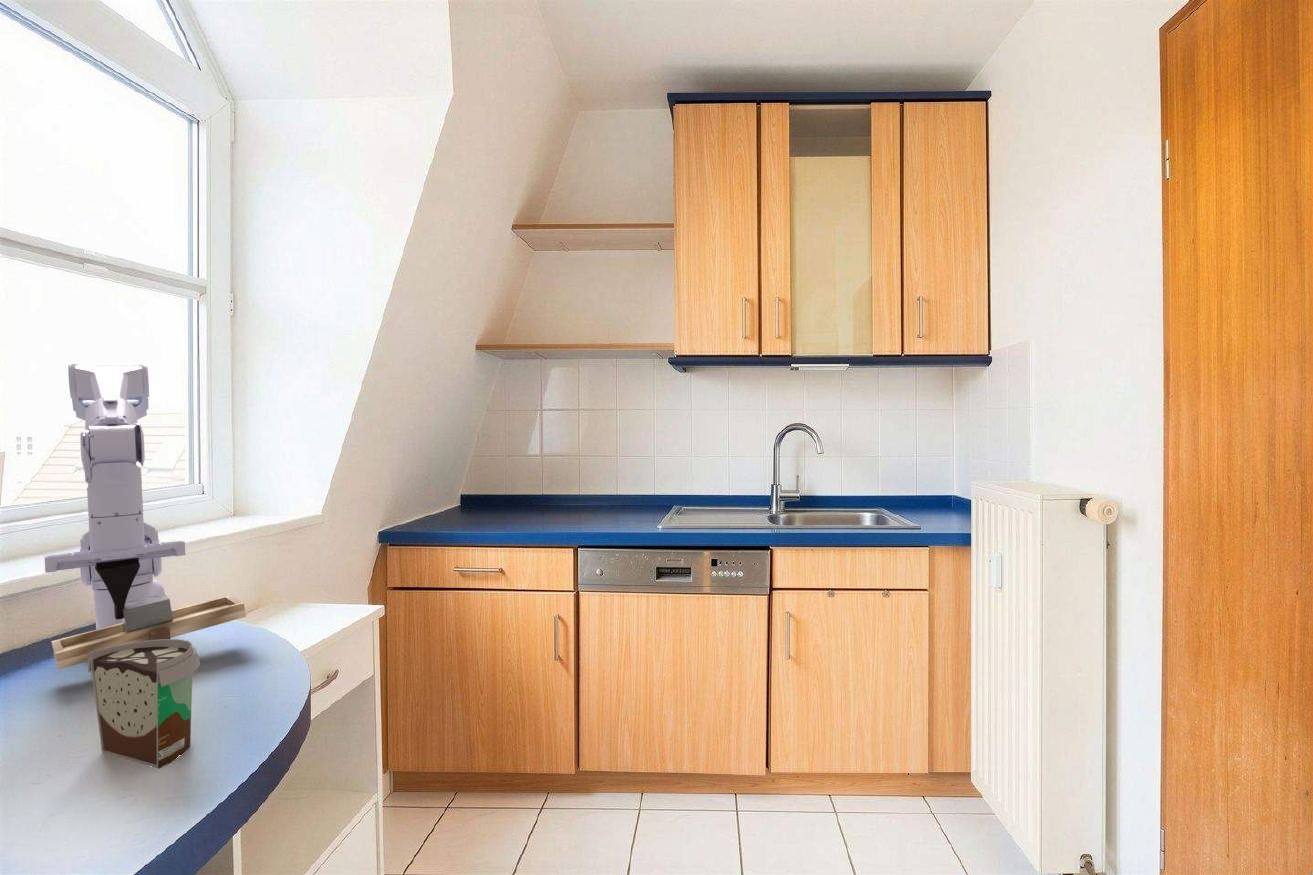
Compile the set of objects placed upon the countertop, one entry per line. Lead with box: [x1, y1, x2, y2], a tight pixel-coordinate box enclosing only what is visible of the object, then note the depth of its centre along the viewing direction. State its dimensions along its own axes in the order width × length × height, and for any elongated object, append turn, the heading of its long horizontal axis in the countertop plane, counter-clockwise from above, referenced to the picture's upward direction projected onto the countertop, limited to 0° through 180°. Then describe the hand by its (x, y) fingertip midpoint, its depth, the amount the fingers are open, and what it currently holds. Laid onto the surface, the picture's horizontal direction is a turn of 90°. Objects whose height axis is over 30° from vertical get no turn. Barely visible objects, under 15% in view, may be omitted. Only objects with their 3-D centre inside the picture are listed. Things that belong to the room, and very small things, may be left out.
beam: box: [51, 594, 247, 670], centre depth 93 cm, size 20×8×2 cm, turn 134°
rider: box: [122, 593, 173, 634], centre depth 92 cm, size 5×5×4 cm
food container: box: [87, 638, 201, 770], centre depth 68 cm, size 12×6×10 cm, turn 65°
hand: (121, 617), depth 90 cm, fingers closed, pressing on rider
